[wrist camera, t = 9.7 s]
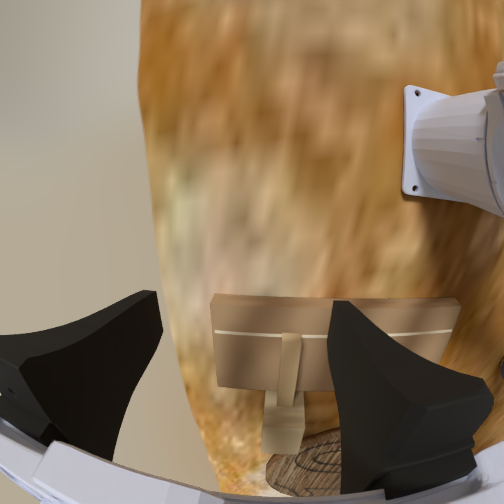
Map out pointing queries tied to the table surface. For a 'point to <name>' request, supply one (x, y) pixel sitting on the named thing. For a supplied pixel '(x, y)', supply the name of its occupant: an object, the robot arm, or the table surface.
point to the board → (314, 334)
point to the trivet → (309, 467)
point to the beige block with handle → (285, 403)
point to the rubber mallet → (502, 367)
